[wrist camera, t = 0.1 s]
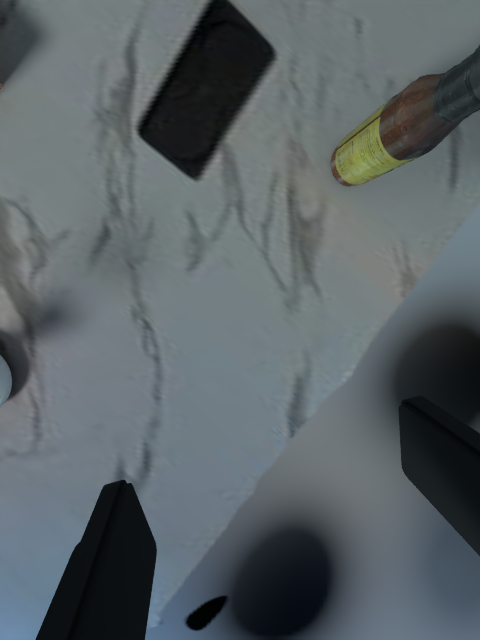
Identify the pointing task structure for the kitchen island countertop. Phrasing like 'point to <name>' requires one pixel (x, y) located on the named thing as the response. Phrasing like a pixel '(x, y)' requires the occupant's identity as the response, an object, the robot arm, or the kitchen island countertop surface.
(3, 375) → the flower in vase
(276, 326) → the kitchen island countertop surface
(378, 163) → the sauce bottle
